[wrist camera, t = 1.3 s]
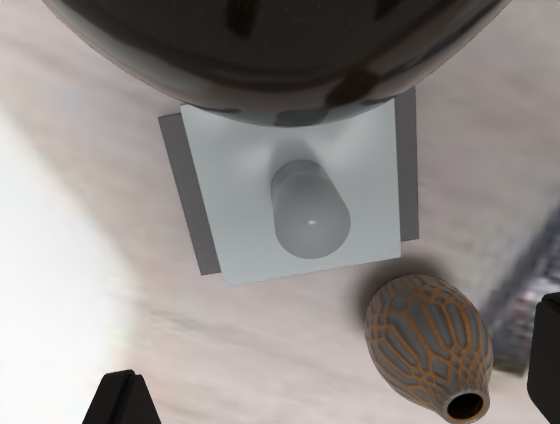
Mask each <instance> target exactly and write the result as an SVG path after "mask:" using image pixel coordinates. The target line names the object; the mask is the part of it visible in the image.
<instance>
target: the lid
mask: <svg viewBox="0 0 560 424" xmlns="http://www.w3.org/2000/svg"><path fill="white" fill-rule="evenodd" d="M180 110H181V114H182V118H183V122H184V126H185V130H186V134H187V138H188V142H189V146H190V150H191V154H192V158H193V161H194V165H195V169H196V173H197V177H198V181H199V185H200V189H201V193H202V197H203V201H204V205H205V209H206V213H207V217H208V221H209V225H210V229H211V233H212V237H213V240H214V244H215V248H216V252H217V256H218V260H219V264H220V268H221V272H222V276H223V280H224V284H225V287H228V286H234V285H240V284H246V283H251V282H257V281H263V280H269V279H275V278H281V277H287V276H293V275H299V274H305V273H311V272H317V271H322V270H328V269H334V268H340V267H346V266H352V265H358V264H364V263H370V262H376V261H382V260H388V259H393V258H399V257H401V241H400V219H399V196H398V174H397V152H396V130H395V107H394V98H393V99H391V100H389V101H388V102H386V103H384V104H382V105H381V106H379V107H377V108H374V109H372V110H370V111H367V112H365V113H362V114H360V115H357V116H355V117H352V118H350V119H346V120H342V121H338V122H334V123H330V124H326V125H317V126H306V127H295V128H277V127H263V126H258V125H252V124H247V123H242V122H237V121H234V120H230V119H227V118H224V117H221V116H217V115H214V114H211V113H208V112H205V111H203V110H200V109H198V108H196V107H193V106H191V105H189V104H182V105H181V106H180Z"/></svg>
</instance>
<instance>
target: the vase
mask: <svg viewBox="0 0 560 424" xmlns="http://www.w3.org/2000/svg"><path fill="white" fill-rule="evenodd" d="M365 338H366V342H367V346H368V350H369V353H370V355H371V358H372V360H373V363H374V364H375V366H376V368H377V370H378V371H379V373H380V374H381V376H382V377H383V378H384V379H385V381H386V382H387V383H388V384H389V385H390V386H391V387H392V388H393V389H394V390H395V391H396V392H397V393H399V394H400V395H401V396H402V397H404V398H406V399H407V400H409V401H411V402H413V403H415V404H417V405H420V406H422V407H425V408H427V409H430V410H432V411H434V412H436V413H437V414H439V415H440V416H441V417H442V418H443V419H445V420H446V421H447V422H449V423H451V424H470V423H473V422H475V421H477V420H479V419H480V418H482V417H483V416H484V415H485V414H486V412H487V411H488V409H489V406H490V398H489V392H488V384H489V380H490V376H491V371H492V365H493V347H492V342H491V338H490V335H489V332H488V329H487V327H486V324H485V322H484V320H483V318H482V317H481V315H480V313H479V312H478V310H477V309H476V308H475V306H474V305H473V304H472V303H471V302H470V301H469V300H468V299H467V297H466V296H464V295H463V294H462V293H461V292H460V291H459V290H458V289H456V288H455V287H453V286H452V285H450V284H448V283H447V282H444V281H442V280H440V279H438V278H435V277H431V276H428V275H420V274H414V275H406V276H401V277H398V278H395V279H393V280H391V281H389V282H388V283H386V284H385V285H384V286H382V287H381V288H380V289H379V290H378V291H377V293H376V294H375V295H374V296H373V298H372V299H371V301H370V303H369V306H368V309H367V312H366V317H365Z"/></svg>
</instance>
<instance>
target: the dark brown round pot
mask: <svg viewBox="0 0 560 424" xmlns="http://www.w3.org/2000/svg"><path fill="white" fill-rule="evenodd" d="M41 1H42V2H43V3H44V4H45V5H46V6H47V7H48V9H49V10H50V11H51V12H52V13H53V14H54V15H55V16H56V17H57V18H58V19H59V20H60V21H61V22H63V23H64V24H65V25H66V26H67V27H68V28H69V29H71V30H72V31H73V32H74V33H75V34H76V35H77V36H78V37H80V38H81V39H82V40H83V41H84V42H85V43H86V44H88V45H89V46H90V47H91V48H93V49H94V50H96V51H97V52H98V53H100V54H101V55H103V56H104V57H105V58H107V59H108V60H110V61H111V62H112V63H114V64H115V65H117V66H118V67H120V68H121V69H122V70H124V71H125V72H127V73H128V74H130V75H132V76H134V77H135V78H137V79H139V80H141V81H143V82H144V83H146V84H148V85H150V86H152V87H153V88H155V89H157V90H159V91H161V92H162V93H164V94H166V95H168V96H170V97H172V98H174V99H177V100H179V101H181V102H184V103H186V104H189V105H191V106H193V107H196V108H198V109H200V110H203V111H205V112H208V113H211V114H214V115H217V116H221V117H224V118H227V119H230V120H234V121H237V122H242V123H247V124H252V125H258V126H263V127H277V128H295V127H306V126H317V125H326V124H330V123H334V122H338V121H342V120H346V119H350V118H352V117H355V116H357V115H360V114H362V113H365V112H367V111H370V110H372V109H374V108H377V107H379V106H381V105H382V104H384V103H386V102H388V101H389V100H391V99H393V98H395V97H397V96H398V95H400V94H402V93H404V92H405V91H407V90H408V89H410V88H411V87H413V86H414V85H415V84H417V83H418V82H420V81H421V80H422V79H424V78H425V77H427V76H428V75H430V74H431V73H432V72H434V71H435V70H436V69H438V68H439V67H440V66H441V65H442V64H444V63H445V62H446V61H447V60H449V59H450V58H451V57H452V56H453V55H455V54H456V53H457V52H458V51H459V50H461V49H462V48H463V47H464V46H465V45H466V44H468V43H469V42H470V41H471V40H472V39H473V38H474V37H475V36H476V35H477V34H478V33H479V32H480V31H481V30H482V29H483V28H484V27H486V26H487V25H488V24H489V23H490V22H491V21H492V20H493V19H494V18H495V17H496V16H497V15H498V14H499V13H500V12H501V11H502V10H503V9H504V8H505V7H506V6H507V5H508V3H509V2H510V1H511V0H41Z"/></svg>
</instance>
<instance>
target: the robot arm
mask: <svg viewBox="0 0 560 424" xmlns="http://www.w3.org/2000/svg"><path fill="white" fill-rule="evenodd" d="M527 390H528V394H529V396H530V398H531V400H532V401H533V403H534V404H535V405H536V407H537V408H538V409H539V410H540V412H541V413H542V414H543V415H544V417H545V418H546V419H547V420H548V422H549V423H550V424H560V292H556V293H551V294H546V295H544V296H543V297H542V300H541V302H539V303H538V304H537V306H536V313H535V321H534V330H533V338H532V347H531V355H530V364H529V372H528V381H527ZM82 424H161V421H160V419H159V416H158V414H157V411H156V409H155V406H154V404H153V401H152V399H151V396H150V394H149V391H148V388H147V386H146V383H145V381H144V378H143V376H142V375H141V374H139V375H136V374H135V373H134V371H133V370H124V371H118V372H113V373H107V374H105V375H104V376H103V378H102V380H101V382H100V384H99V386H98V389H97V391H96V393H95V395H94V398H93V400H92V402H91V404H90V407H89V409H88V411H87V413H86V416H85V418H84V420H83V422H82Z"/></svg>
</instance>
